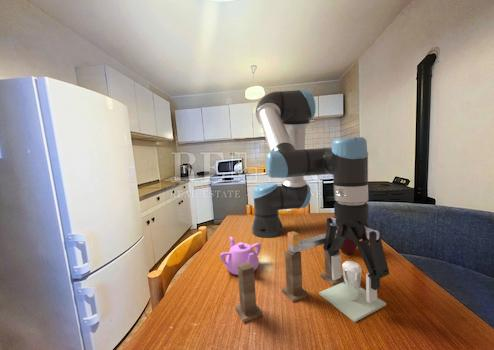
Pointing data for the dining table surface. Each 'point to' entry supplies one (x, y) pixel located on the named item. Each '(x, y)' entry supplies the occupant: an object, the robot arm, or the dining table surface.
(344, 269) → the milkshake
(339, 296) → the mat
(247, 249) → the teapot
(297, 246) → the bar
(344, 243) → the mug
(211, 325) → the dining table surface
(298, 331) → the dining table surface
